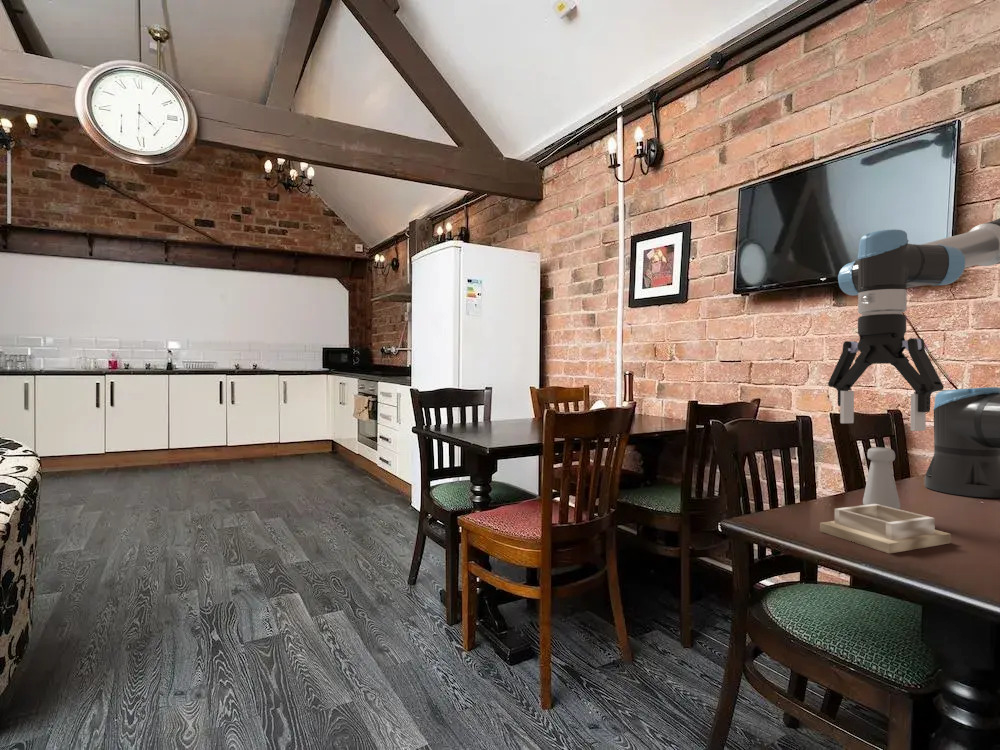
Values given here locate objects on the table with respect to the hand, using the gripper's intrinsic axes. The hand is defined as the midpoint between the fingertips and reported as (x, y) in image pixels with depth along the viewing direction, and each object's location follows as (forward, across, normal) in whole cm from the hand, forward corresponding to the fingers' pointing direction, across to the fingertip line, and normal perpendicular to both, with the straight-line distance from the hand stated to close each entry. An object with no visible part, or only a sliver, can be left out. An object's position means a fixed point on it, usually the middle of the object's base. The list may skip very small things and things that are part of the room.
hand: (880, 426), depth 103 cm
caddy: (+17, +9, -12) cm, 23 cm away
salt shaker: (+17, 0, 0) cm, 17 cm away
